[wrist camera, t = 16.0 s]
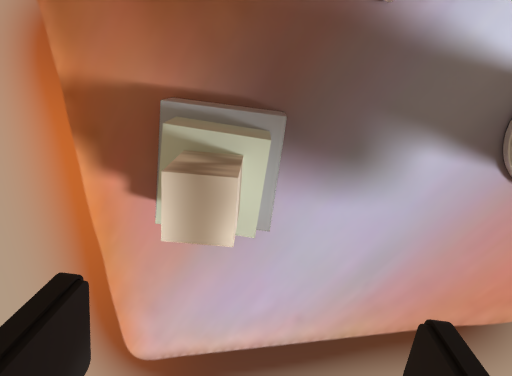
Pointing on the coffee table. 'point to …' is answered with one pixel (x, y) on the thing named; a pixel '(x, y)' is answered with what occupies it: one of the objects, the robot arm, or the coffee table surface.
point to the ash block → (201, 198)
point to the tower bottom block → (236, 117)
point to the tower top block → (227, 142)
